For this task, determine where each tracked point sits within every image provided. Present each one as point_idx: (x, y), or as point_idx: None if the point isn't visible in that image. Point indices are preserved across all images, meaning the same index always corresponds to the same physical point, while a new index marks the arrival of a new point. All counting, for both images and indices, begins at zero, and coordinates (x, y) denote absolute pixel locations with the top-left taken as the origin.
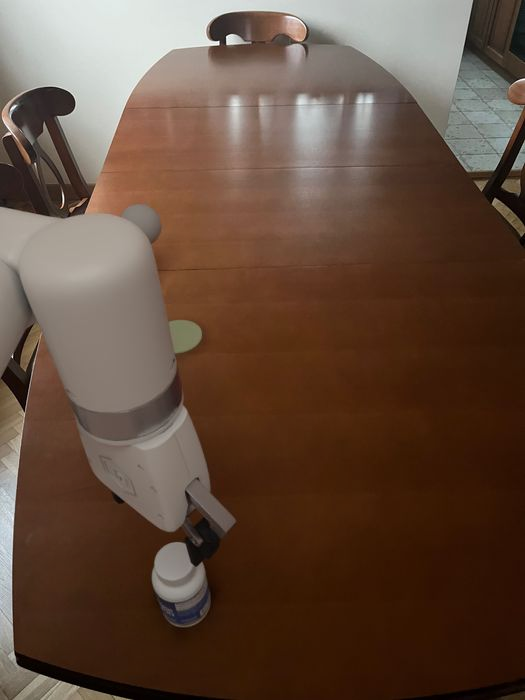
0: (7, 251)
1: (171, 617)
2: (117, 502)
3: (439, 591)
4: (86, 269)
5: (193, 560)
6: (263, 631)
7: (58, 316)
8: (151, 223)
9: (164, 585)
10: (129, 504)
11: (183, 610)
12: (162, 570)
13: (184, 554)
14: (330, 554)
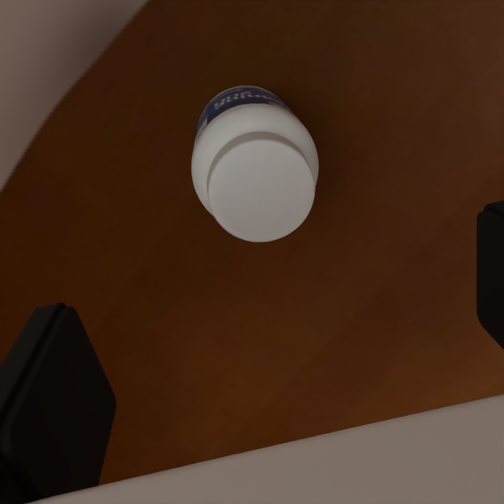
0: None
1: (222, 97)
2: (497, 203)
3: None
4: None
5: (18, 337)
6: (116, 217)
7: None
8: None
9: (243, 132)
10: (318, 452)
11: (199, 129)
12: (258, 154)
13: (258, 221)
14: (164, 368)
